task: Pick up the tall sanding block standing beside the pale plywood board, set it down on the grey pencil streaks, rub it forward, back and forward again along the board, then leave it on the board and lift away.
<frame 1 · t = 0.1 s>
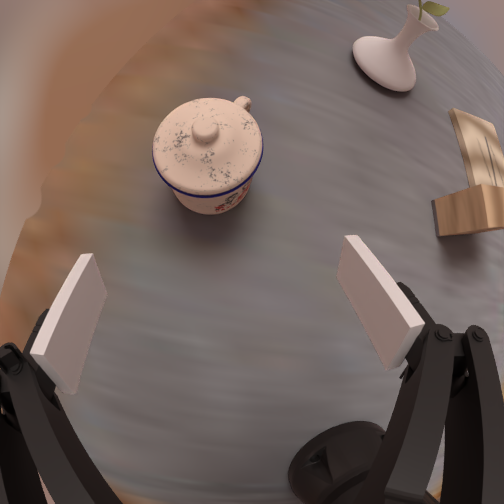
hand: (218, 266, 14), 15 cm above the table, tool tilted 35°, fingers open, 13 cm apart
teacup with lid: (217, 166, 30), on the table
sanding block: (453, 218, 33), on the table
board: (485, 168, 35), on the table
flower in vase: (375, 66, 33), on the table
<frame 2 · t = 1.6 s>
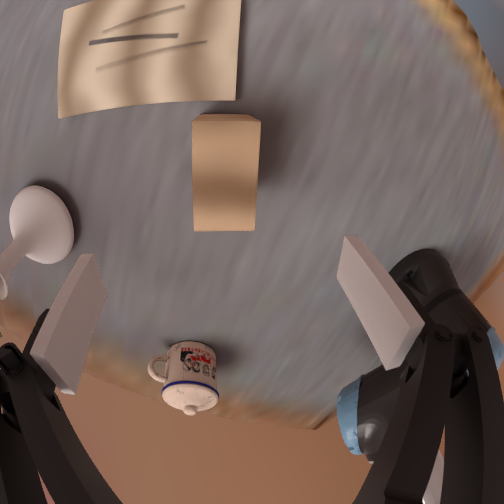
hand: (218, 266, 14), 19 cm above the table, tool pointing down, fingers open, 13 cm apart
teacup with lid: (184, 352, 46), on the table
sanding block: (223, 153, 29), on the table
board: (143, 45, 21), on the table
flower in vase: (46, 225, 31), on the table
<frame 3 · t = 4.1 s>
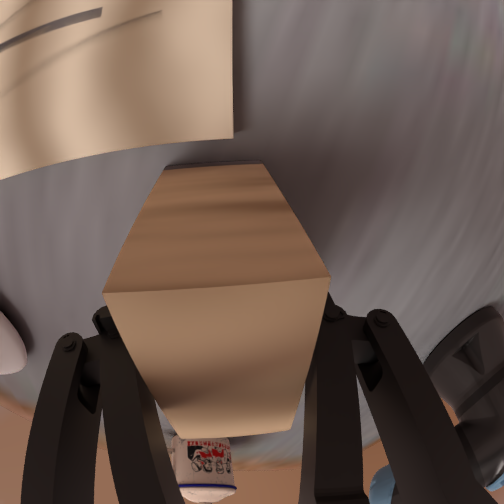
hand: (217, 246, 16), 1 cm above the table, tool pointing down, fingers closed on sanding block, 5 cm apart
teacup with lid: (191, 437, 34), on the table
sanding block: (217, 237, 16), on the table, touching gripper
board: (48, 45, 8), on the table
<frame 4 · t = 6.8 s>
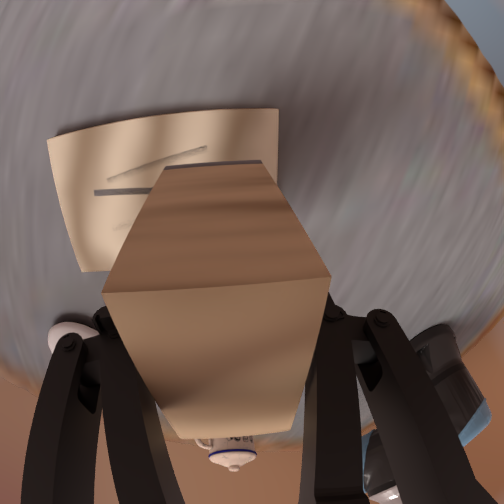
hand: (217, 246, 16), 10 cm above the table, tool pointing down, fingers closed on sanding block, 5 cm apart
teacup with lid: (222, 418, 49), on the table
sanding block: (217, 236, 16), point 9 cm above the table, touching gripper
board: (161, 192, 24), on the table
flower in vase: (86, 344, 34), on the table
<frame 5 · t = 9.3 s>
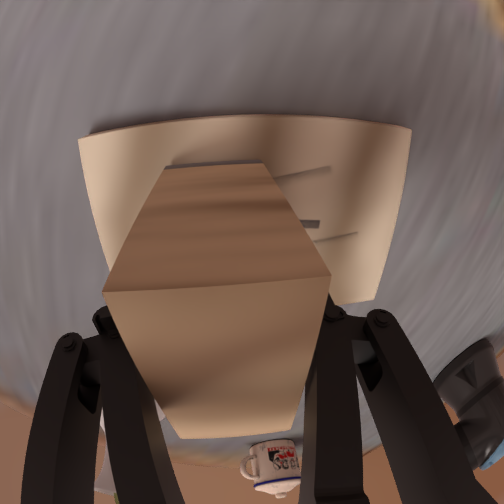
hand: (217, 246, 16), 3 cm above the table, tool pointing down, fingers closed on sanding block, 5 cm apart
teacup with lid: (265, 444, 44), on the table
sanding block: (217, 236, 16), point 2 cm above the table, touching gripper
board: (253, 222, 18), on the table
flower in vase: (123, 390, 28), on the table
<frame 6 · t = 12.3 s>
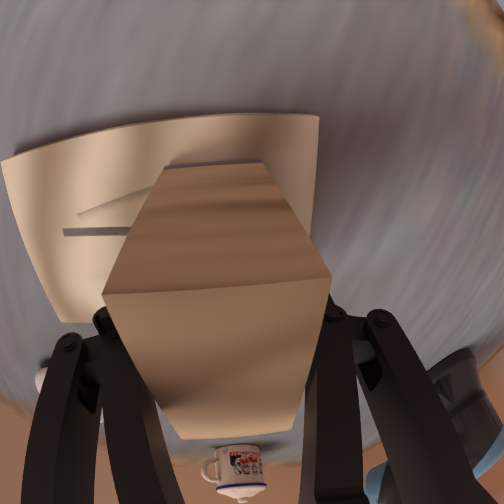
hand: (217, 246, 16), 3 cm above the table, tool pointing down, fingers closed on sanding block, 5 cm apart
teacup with lid: (229, 448, 43), on the table
sanding block: (217, 236, 16), point 2 cm above the table, touching gripper
board: (153, 229, 18), on the table
when the fingers open (3 cm above the table, at t = 14.8 s): sanding block stays where it is, resting on board.
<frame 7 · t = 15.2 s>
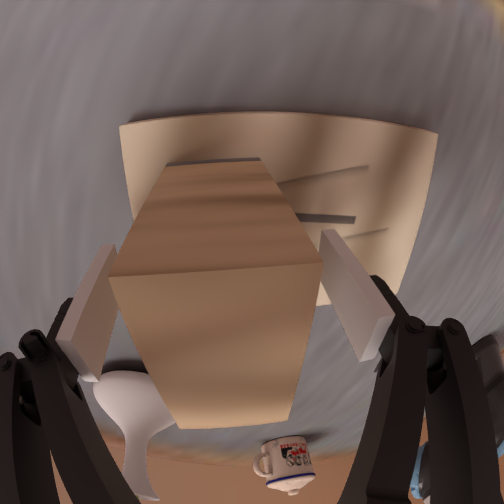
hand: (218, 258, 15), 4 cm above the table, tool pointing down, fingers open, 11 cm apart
teacup with lid: (276, 442, 44), on the table
sanding block: (217, 232, 17), point 1 cm above the table, touching board
board: (292, 217, 19), on the table
flower in vase: (141, 389, 29), on the table
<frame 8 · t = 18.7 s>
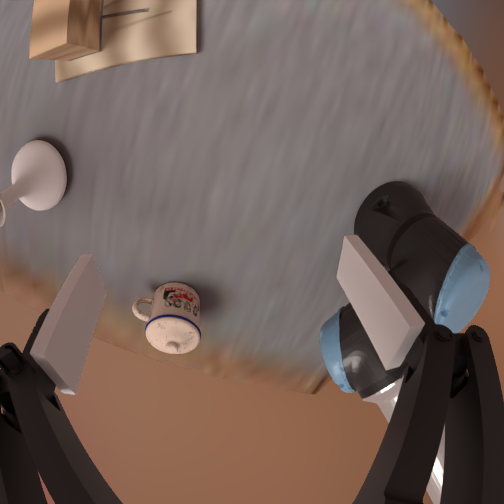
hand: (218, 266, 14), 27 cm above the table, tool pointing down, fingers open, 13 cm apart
teacup with lid: (169, 296, 49), on the table
sanding block: (85, 28, 22), point 1 cm above the table, touching board
board: (122, 20, 24), on the table
flower in vase: (43, 177, 33), on the table
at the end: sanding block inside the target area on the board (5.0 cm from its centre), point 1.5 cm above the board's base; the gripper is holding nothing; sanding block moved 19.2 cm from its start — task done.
